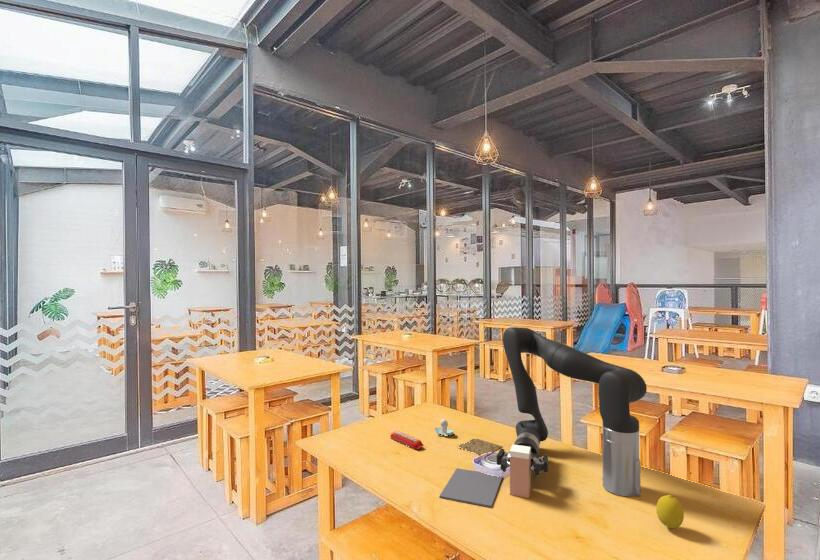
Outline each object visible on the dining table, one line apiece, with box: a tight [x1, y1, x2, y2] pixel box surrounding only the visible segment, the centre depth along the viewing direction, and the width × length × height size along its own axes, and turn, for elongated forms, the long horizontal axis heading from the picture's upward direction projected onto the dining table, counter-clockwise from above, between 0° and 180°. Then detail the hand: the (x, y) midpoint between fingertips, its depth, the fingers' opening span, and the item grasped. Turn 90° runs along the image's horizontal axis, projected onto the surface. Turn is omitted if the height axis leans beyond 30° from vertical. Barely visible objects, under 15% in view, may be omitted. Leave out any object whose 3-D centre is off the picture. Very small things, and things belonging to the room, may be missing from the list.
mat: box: [438, 467, 503, 508], centre depth 121 cm, size 14×18×1 cm
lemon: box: [655, 494, 685, 530], centre depth 101 cm, size 6×6×8 cm
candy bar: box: [389, 430, 424, 450], centre depth 153 cm, size 16×4×3 cm, turn 41°
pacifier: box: [434, 418, 455, 436], centre depth 162 cm, size 7×6×6 cm
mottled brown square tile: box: [458, 438, 504, 456], centre depth 150 cm, size 12×12×1 cm
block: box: [509, 444, 532, 499], centre depth 118 cm, size 5×5×12 cm
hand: (519, 470), depth 117 cm, fingers open, 8 cm apart
